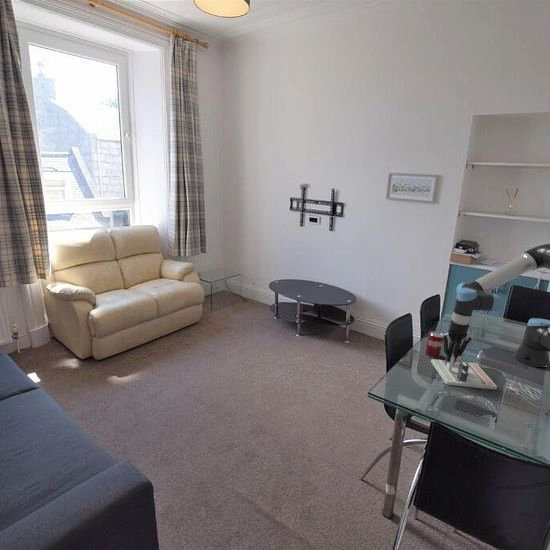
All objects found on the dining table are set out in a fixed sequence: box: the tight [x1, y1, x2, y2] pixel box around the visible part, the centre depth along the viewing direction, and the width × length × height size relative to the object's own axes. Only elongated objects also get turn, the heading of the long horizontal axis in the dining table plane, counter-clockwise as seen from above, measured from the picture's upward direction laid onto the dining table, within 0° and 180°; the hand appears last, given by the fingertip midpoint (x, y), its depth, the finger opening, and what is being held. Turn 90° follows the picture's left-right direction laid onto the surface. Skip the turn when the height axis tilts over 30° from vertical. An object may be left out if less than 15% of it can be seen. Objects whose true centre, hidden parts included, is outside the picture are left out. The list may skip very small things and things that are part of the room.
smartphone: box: [453, 398, 497, 418], centre depth 148 cm, size 7×1×15 cm
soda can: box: [424, 331, 443, 360], centre depth 189 cm, size 7×7×12 cm
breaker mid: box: [458, 361, 469, 373], centre depth 174 cm, size 3×3×4 cm
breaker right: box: [457, 369, 468, 381], centre depth 167 cm, size 3×3×4 cm
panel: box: [430, 358, 498, 390], centre depth 174 cm, size 22×20×2 cm
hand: (449, 367), depth 174 cm, fingers closed
